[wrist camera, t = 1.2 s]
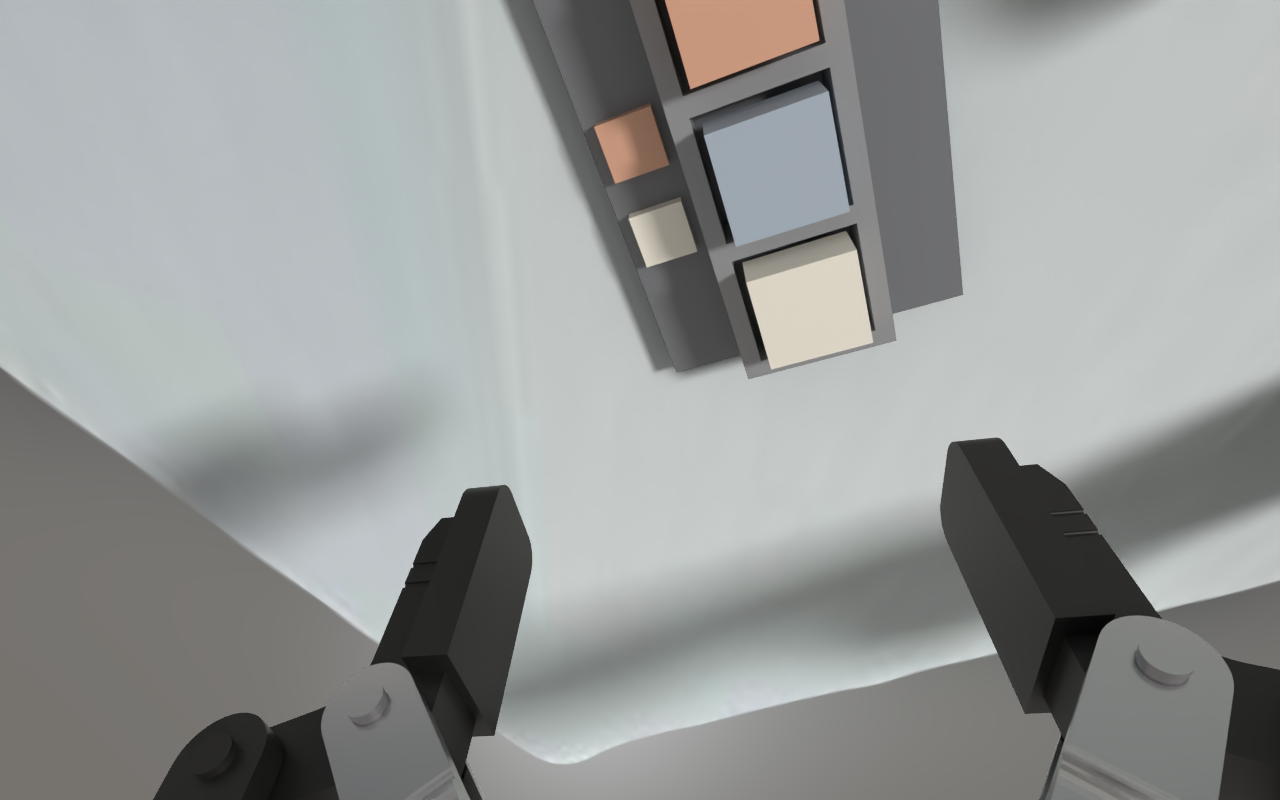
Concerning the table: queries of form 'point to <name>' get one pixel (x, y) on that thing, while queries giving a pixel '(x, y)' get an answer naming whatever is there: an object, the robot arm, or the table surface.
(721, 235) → the keypad
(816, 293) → the key cream
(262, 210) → the table surface
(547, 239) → the table surface
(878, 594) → the table surface
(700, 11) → the key terracotta
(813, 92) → the key slate
